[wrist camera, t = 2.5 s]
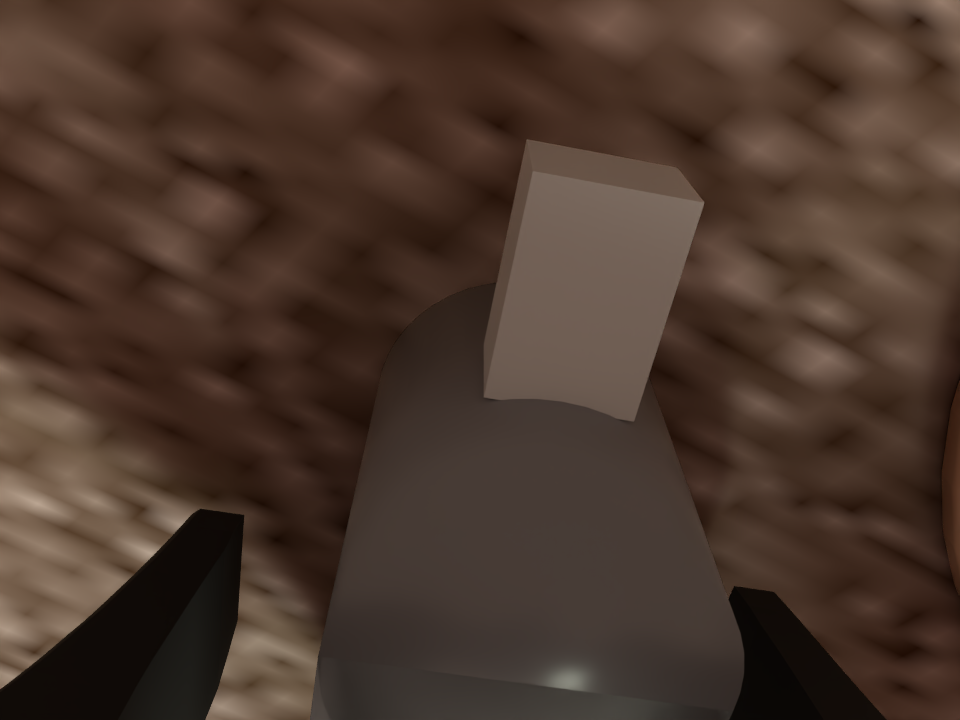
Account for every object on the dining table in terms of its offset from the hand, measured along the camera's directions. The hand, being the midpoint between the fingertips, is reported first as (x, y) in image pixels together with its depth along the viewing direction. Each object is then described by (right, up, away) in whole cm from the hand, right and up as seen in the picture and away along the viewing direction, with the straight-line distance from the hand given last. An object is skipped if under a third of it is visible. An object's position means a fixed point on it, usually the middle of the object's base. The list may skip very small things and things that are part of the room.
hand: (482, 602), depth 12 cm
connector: (0, +2, +1) cm, 2 cm away
